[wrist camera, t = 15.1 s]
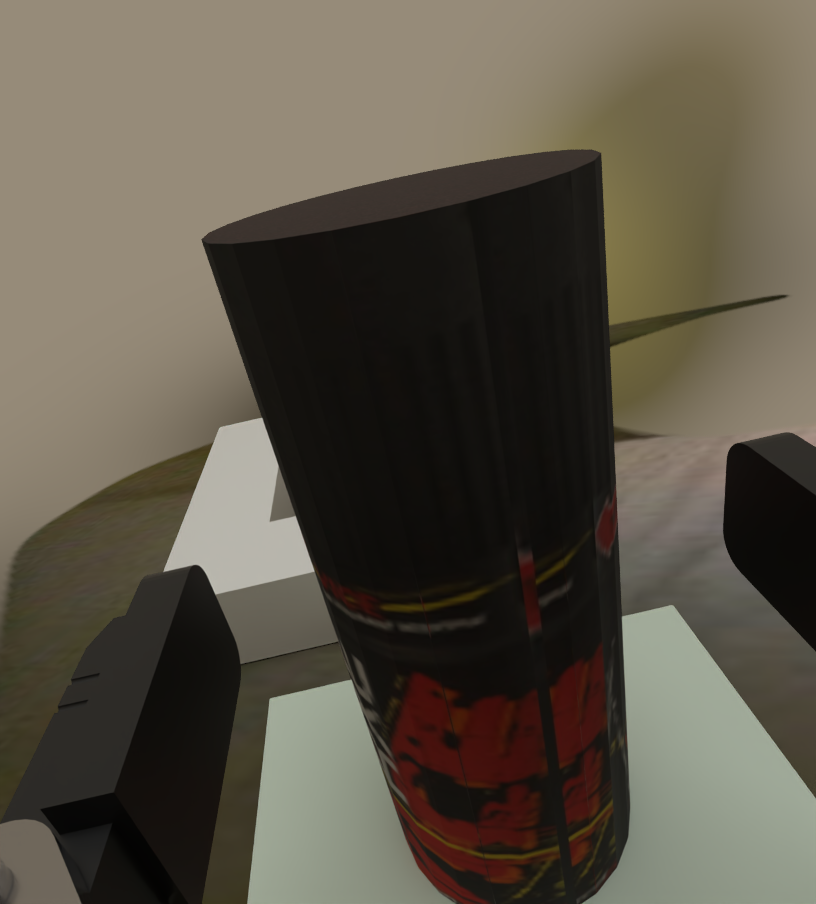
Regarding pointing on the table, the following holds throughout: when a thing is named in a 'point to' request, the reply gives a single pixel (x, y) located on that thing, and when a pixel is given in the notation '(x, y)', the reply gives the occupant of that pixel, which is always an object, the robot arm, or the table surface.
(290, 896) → the mat
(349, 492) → the deodorant
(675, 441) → the table surface
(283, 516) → the socket block
